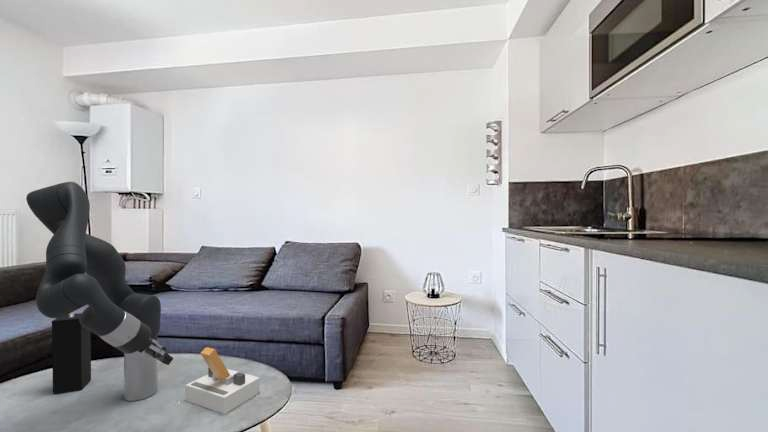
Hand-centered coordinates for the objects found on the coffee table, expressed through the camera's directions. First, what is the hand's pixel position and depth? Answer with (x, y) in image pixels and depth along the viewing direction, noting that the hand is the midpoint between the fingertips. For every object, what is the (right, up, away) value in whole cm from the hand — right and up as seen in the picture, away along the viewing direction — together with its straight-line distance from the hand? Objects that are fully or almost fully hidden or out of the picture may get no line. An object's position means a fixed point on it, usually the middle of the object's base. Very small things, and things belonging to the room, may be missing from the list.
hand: (169, 361), depth 98 cm
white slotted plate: (+8, -18, +16) cm, 25 cm away
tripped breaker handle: (+8, -12, +15) cm, 21 cm away
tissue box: (-47, -18, +22) cm, 55 cm away
